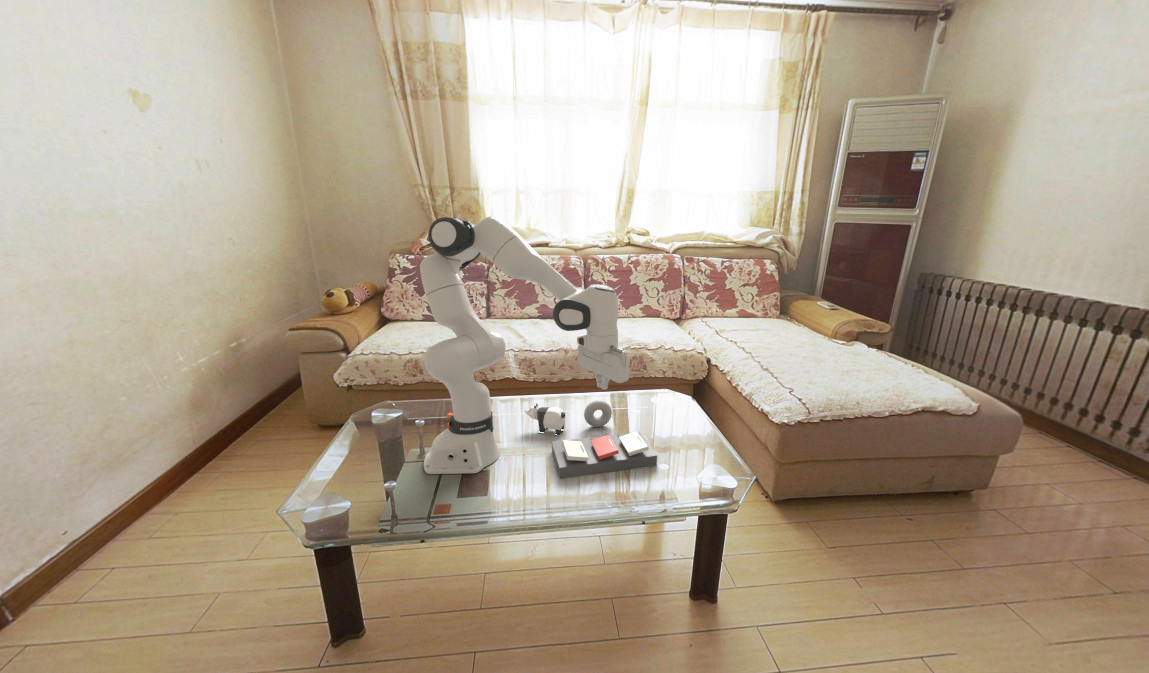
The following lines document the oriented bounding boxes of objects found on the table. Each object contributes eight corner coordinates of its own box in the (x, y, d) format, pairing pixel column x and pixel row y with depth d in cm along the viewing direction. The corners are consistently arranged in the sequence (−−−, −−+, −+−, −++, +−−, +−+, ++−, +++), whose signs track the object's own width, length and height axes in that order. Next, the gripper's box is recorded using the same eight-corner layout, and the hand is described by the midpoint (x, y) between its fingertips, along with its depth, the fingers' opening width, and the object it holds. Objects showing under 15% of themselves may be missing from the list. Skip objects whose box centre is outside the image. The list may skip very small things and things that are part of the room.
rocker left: (567, 459, 118) (568, 455, 118) (561, 443, 127) (562, 439, 127) (587, 461, 120) (588, 457, 119) (580, 444, 129) (581, 441, 128)
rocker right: (629, 456, 122) (628, 452, 121) (619, 440, 131) (618, 436, 131) (648, 449, 123) (647, 446, 122) (637, 434, 132) (636, 431, 131)
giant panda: (568, 429, 147) (567, 404, 145) (562, 437, 142) (562, 411, 139) (529, 424, 151) (528, 400, 149) (523, 431, 146) (521, 406, 144)
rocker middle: (599, 459, 120) (598, 456, 120) (591, 443, 129) (590, 440, 129) (618, 453, 121) (618, 449, 121) (609, 437, 130) (608, 434, 130)
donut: (585, 430, 146) (585, 403, 144) (583, 425, 150) (582, 399, 147) (613, 427, 148) (613, 401, 146) (610, 423, 151) (610, 397, 149)
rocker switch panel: (559, 478, 118) (559, 465, 117) (552, 451, 133) (551, 439, 131) (656, 466, 124) (657, 453, 123) (639, 441, 138) (639, 429, 137)
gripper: (635, 348, 112) (634, 396, 116) (590, 333, 129) (591, 376, 132) (616, 352, 109) (616, 402, 112) (573, 336, 125) (574, 380, 129)
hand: (602, 388), depth 122 cm, fingers closed
